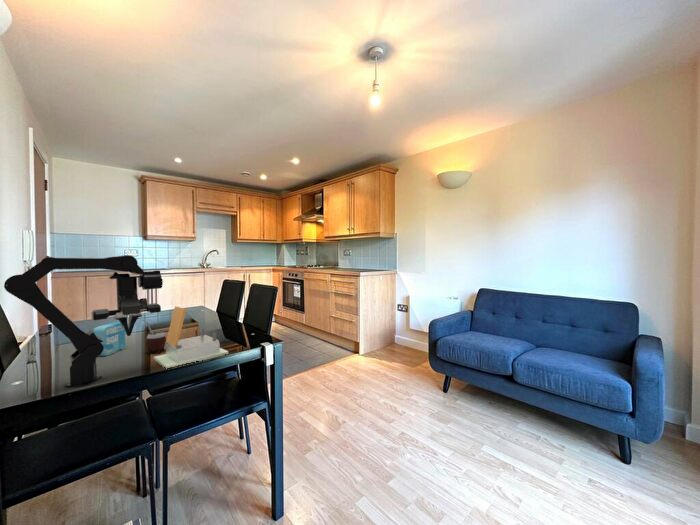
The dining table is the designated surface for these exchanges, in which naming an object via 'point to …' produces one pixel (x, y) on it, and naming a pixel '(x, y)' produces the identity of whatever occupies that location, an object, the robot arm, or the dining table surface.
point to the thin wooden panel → (176, 326)
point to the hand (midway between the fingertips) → (128, 335)
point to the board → (169, 362)
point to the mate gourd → (155, 341)
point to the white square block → (193, 348)
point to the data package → (111, 337)
